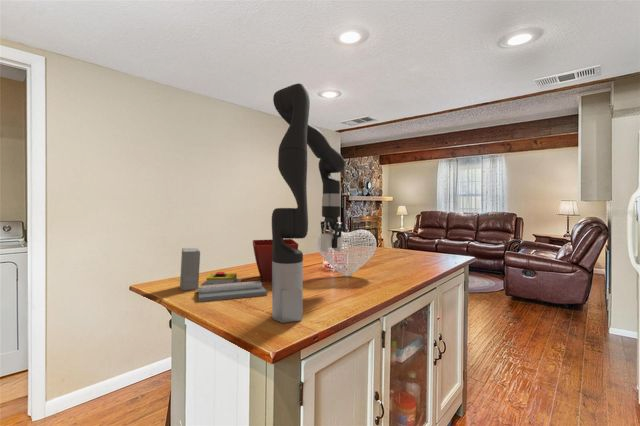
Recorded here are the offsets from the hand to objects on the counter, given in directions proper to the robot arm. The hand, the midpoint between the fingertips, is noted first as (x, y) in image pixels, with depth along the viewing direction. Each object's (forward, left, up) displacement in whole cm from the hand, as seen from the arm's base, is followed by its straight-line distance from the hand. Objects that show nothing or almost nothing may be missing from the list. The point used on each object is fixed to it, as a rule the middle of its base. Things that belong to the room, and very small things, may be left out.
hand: (330, 247), depth 131 cm
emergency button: (+27, +40, -18) cm, 51 cm away
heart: (+18, -16, -17) cm, 29 cm away
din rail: (+7, +38, -15) cm, 42 cm away
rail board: (+7, +38, -17) cm, 42 cm away
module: (0, 0, -2) cm, 2 cm away
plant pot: (+26, +17, -17) cm, 35 cm away
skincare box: (+21, +53, -17) cm, 59 cm away
